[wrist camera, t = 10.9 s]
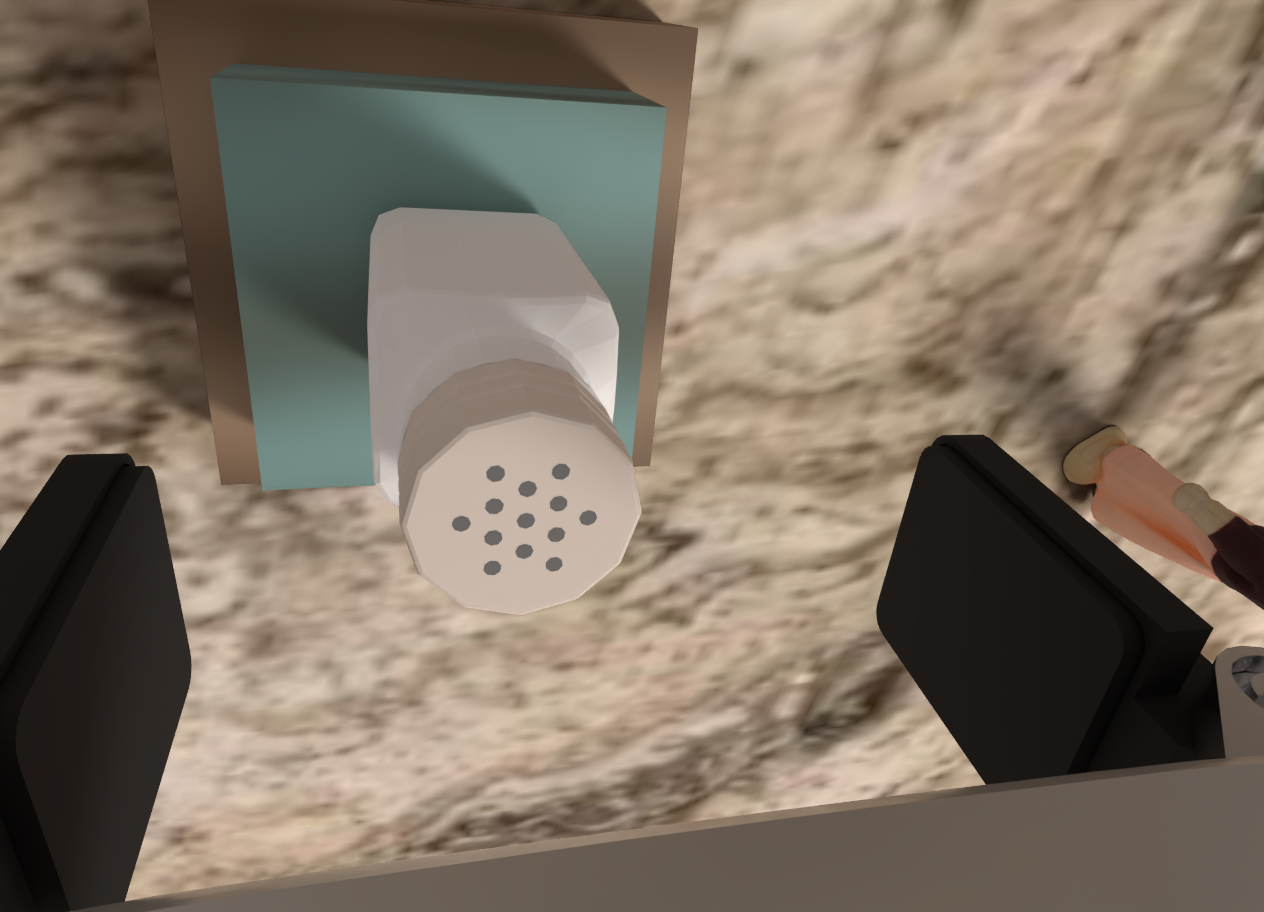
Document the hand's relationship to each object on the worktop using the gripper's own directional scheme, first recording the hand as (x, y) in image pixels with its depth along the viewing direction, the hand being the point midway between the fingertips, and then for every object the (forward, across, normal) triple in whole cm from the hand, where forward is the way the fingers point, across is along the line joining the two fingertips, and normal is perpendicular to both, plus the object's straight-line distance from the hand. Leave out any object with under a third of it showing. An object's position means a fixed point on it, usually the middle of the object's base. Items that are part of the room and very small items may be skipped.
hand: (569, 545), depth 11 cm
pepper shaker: (+11, +1, 0) cm, 11 cm away
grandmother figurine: (+17, -26, +10) cm, 33 cm away
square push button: (+16, +1, +1) cm, 16 cm away
